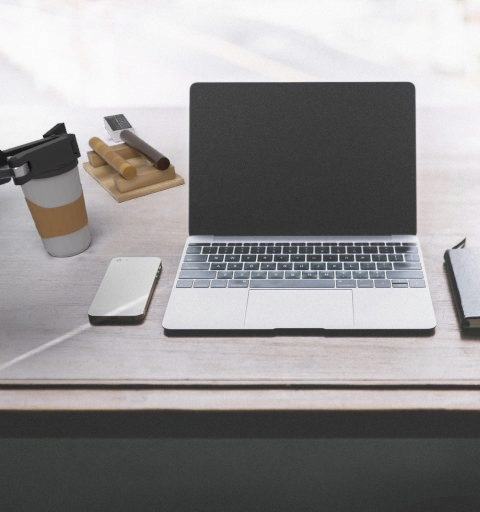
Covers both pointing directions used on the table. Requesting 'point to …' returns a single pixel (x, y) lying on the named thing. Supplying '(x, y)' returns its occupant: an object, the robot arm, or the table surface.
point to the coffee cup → (59, 210)
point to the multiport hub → (117, 126)
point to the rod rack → (130, 167)
